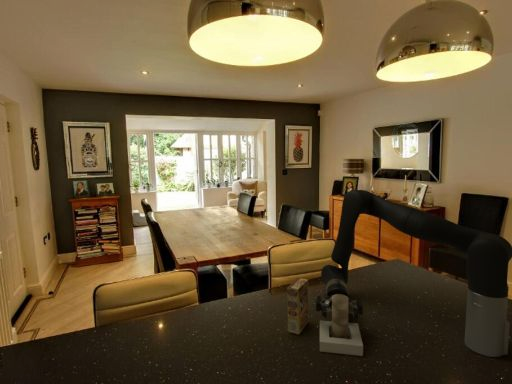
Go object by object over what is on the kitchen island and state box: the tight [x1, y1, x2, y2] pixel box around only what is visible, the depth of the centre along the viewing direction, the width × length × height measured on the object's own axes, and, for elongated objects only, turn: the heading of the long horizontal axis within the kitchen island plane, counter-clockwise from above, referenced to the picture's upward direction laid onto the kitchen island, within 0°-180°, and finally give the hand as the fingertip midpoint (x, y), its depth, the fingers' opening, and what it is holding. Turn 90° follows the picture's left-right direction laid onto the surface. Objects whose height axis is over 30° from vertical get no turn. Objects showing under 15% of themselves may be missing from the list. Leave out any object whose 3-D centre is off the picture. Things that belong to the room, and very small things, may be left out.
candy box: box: [286, 277, 309, 335], centre depth 101 cm, size 9×4×15 cm, turn 150°
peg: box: [331, 294, 350, 339], centre depth 93 cm, size 5×5×14 cm
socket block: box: [319, 319, 364, 357], centre depth 93 cm, size 12×12×3 cm
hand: (340, 316), depth 91 cm, fingers open, 8 cm apart
